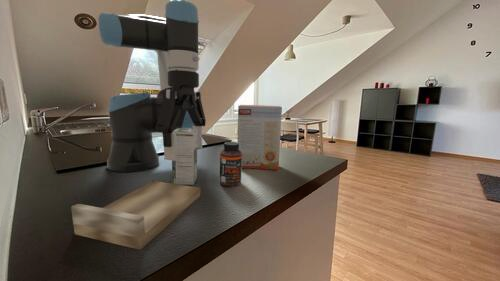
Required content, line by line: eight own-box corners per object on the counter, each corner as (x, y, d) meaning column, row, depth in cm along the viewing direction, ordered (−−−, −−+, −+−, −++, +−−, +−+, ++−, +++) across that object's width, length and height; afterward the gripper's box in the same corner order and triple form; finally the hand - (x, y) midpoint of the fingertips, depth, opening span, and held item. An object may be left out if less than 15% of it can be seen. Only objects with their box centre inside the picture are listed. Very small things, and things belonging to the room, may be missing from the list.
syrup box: (177, 177, 65) (175, 127, 62) (198, 177, 65) (197, 128, 62) (172, 185, 59) (170, 130, 56) (194, 185, 60) (194, 131, 57)
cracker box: (278, 165, 80) (281, 105, 76) (278, 170, 74) (282, 106, 70) (239, 162, 81) (240, 104, 77) (236, 168, 75) (237, 104, 71)
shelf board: (74, 234, 38) (71, 206, 37) (153, 188, 57) (152, 169, 56) (140, 249, 35) (138, 220, 34) (200, 195, 54) (200, 176, 53)
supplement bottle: (224, 188, 58) (224, 146, 56) (216, 180, 63) (216, 141, 61) (244, 185, 61) (246, 144, 59) (235, 177, 66) (236, 140, 64)
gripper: (166, 63, 44) (170, 168, 48) (216, 76, 67) (216, 145, 71) (133, 63, 45) (140, 164, 49) (194, 76, 69) (195, 143, 73)
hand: (185, 153), depth 60 cm, fingers open, 13 cm apart
